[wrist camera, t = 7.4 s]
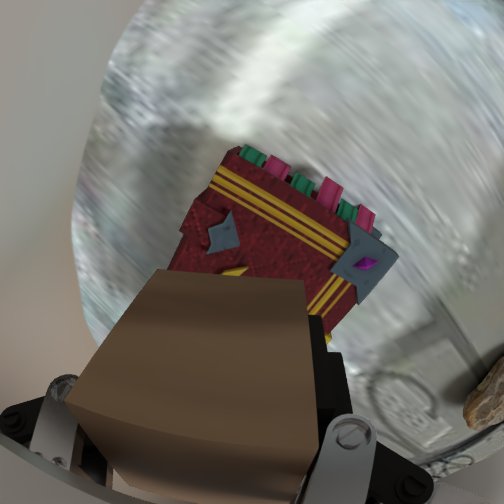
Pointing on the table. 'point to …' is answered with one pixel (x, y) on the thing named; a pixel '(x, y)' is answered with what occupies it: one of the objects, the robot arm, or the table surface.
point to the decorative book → (284, 234)
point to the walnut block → (206, 389)
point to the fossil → (486, 400)
